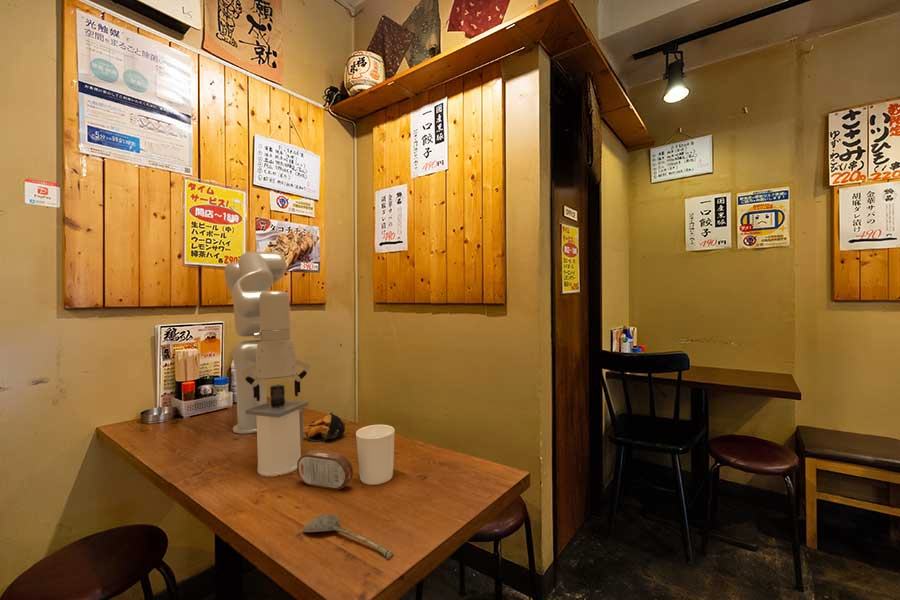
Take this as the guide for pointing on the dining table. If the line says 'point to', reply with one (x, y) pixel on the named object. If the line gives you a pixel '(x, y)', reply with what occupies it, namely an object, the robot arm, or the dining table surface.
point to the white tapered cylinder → (375, 453)
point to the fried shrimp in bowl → (325, 428)
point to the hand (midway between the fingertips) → (277, 397)
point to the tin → (325, 469)
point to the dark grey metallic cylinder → (277, 395)
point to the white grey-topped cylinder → (278, 436)
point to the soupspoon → (339, 530)
